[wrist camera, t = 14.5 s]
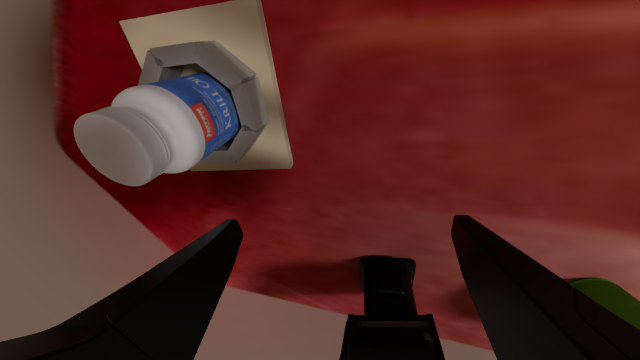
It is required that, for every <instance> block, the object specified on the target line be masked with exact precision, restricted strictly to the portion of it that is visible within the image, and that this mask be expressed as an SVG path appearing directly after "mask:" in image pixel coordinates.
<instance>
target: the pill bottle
mask: <svg viewBox="0 0 640 360" xmlns="http://www.w3.org/2000/svg"><path fill="white" fill-rule="evenodd" d="M241 128H242V125H241V122H240V118H239V115H238V112H237V109H236V105H235V102H234V99H233V95H232V92H231V90H230V89H229V88H228V87H226V86H225V85H224V84H222V83H221V82H220V81H219V80H217V79H216V78H215V77H214V76H212V75H211V74H210V73H208V72H201V73H196V74H192V75H187V76H183V77H177V78H172V79H168V80H163V81H158V82H153V83H148V84H143V85H139V86H135V87H131V88H128V89H125V90H123V91H122V92H120V93H119V94H118V95H117V96H116V97H115V99H114V100H113V102H112V104H111V107H106V108H103V109H101V110H98V111H94V112H91V113H88V114H84V115H82V116H81V117H79V118H78V119H77V120H76V122H75V125H74V137H75V140H76V143H77V145H78V147H79V149H80V151H81V152H82V154H83V155H84V157H85V158H86V159H87V160H88V161H89V162H90V164H91V165H92V166H93V167H95V168H96V169H97V170H98V171H99V172H100V173H102V174H103V175H105V176H106V177H108V178H109V179H111V180H113V181H115V182H118V183H120V184H123V185H127V186H141V185H144V184H146V183H148V182H149V181H151V180H152V179H154V178H156V177H157V176H159V175H161V174H162V173H181V172H184V171H187V170H189V169H190V168H192V167H193V166H195V165H196V164H198V163H199V162H200V161H202V160H203V159H204V158H206V157H207V156H208V155H210V154H211V153H212V152H214V151H215V150H217V149H218V148H219V147H220V146H222V145H223V144H224V143H226V142H227V141H228V140H230V139H231V138H232V137H234V136H235V135H236V134H238V133H239V131H240V129H241Z"/></svg>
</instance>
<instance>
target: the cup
mask: <svg viewBox="0 0 640 360" xmlns="http://www.w3.org/2000/svg"><path fill="white" fill-rule="evenodd" d="M570 285H572V286H573V289H574V288H576V289H578V290H579V291H581V292H582V293H584V294H585V295H587V296H588V297H590V298H591V299H593V300H594V301H596V302H597V303H599V304H600V305H602V306H603V307H605V308H606V309H608V310H609V311H611V312H612V313H614V314H616V315H617V316H619V317H620V318H622V319H623V320H625V321H627V322H628V323H630V324H631V325H633V326H635V327H636V328H638V329H640V301H638V300H637V299H636V298H634V297H633V296H632V295H630V294H629V293H628V292H626V291H625V290H624V289H622V288H621V287H620V286H619V285H617V284H615V283H612V282H611V281H609V280H606V279H601V278H588V279H582V280H578V281H574V282H572V283H570Z"/></svg>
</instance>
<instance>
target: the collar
mask: <svg viewBox="0 0 640 360" xmlns="http://www.w3.org/2000/svg"><path fill="white" fill-rule="evenodd" d="M119 23H120V25H121V27H122V29H123V31H124V33H125V35H126V37H127V39H128V41H129V44H130V46H131V48H132V50H133V52H134V54H135V56H136V58H137V60H138V62H139V64H140V67H141V69H142V73H141V77H140V81H139V85H143V84H148V83H153V82H158V81H163V80H168V79H172V78H177V77H183V76H187V75H192V74H196V73H201V72H208V73H210V74H211V75H212V76H214V77H215V78H216V79H217V80H219V81H220V82H221V83H222V84H224V85H225V86H226V87H228V88H229V89H230V90H231V92H232V95H233V99H234V102H235V105H236V109H237V112H238V115H239V118H240V122H241V125H242V128H241V129H240V131H239V133H238V134H236V135H235V136H234V137H232V138H231V139H230V140H228V141H227V142H226V143H224V144H223V145H222V146H220V147H219V148H218V149H217V150H215V151H214V152H212V153H211V154H210V155H208V156H207V157H206V158H204V159H203V160H202V161H200V162H199V163H198V164H196V165H195V166H193V167H192V168H190V171H216V170H255V169H291V167H292V165H293V159H292V154H291V149H290V144H289V139H288V134H287V129H286V124H285V119H284V114H283V109H282V104H281V99H280V94H279V89H278V84H277V79H276V74H275V69H274V64H273V59H272V54H271V49H270V44H269V38H268V33H267V28H266V23H265V18H264V13H263V8H262V3H261V0H235V1H229V2H224V3H218V4H213V5H207V6H202V7H196V8H191V9H185V10H179V11H174V12H168V13H163V14H157V15H152V16H146V17H140V18H135V19H129V20H124V21H119ZM139 85H138V86H139Z"/></svg>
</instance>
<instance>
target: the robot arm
mask: <svg viewBox="0 0 640 360" xmlns="http://www.w3.org/2000/svg"><path fill="white" fill-rule="evenodd" d="M451 236H452V240H453V244H454V247H455V251H456V254H457V258H458V261H459V265H460V268H461V272H462V275H463V278H464V280H465V283H466V285H467V288H468V290H469V293H470V295H471V297H472V300H473V302H474V305H475V307H476V309H477V312H478V314H479V317H480V319H481V321H482V324H483V326H484V329H485V331H486V334H487V336H488V338H489V341H490V343H491V346H492V348H493V350H494V353H495V355H496V357H497V360H640V329H638V328H636V327H635V326H633V325H631V324H630V323H628V322H627V321H625V320H623V319H622V318H620V317H619V316H617V315H616V314H614V313H612V312H611V311H609V310H608V309H606V308H605V307H603V306H602V305H600V304H599V303H597V302H596V301H594V300H593V299H591V298H590V297H588V296H587V295H585V294H584V293H582V292H581V291H579V290H578V289H576V288H574V289H573V286H572V285H570V284H569V283H567V282H566V281H564V280H563V279H561V278H560V277H559V276H557V275H556V274H554V273H553V272H551V271H550V270H548V269H547V268H545V267H544V266H542V265H541V264H539V263H538V262H536V261H535V260H533V259H532V258H530V257H529V256H528V255H526V254H525V253H523V252H522V251H520V250H519V249H517V248H516V247H514V246H513V245H511V244H510V243H508V242H507V241H505V240H504V239H502V238H501V237H499V236H498V235H497V234H495V233H494V232H492V231H491V230H489V229H488V228H486V227H485V226H483V225H482V224H480V223H479V222H477V221H476V220H474V219H473V218H471V217H470V216H468V215H456V216H454V219H453V225H452V230H451ZM242 238H243V232H242V230H241V227H240V225H239V223H238V221H237V220H235V219H228V220H226V221H224V222H223V223H221V224H220V225H218V226H216V227H215V228H213V229H212V230H210V231H209V232H207V233H206V234H204V235H203V236H201V237H200V238H198V239H196V240H195V241H193V242H192V243H190V244H189V245H187V246H186V247H184V248H183V249H181V250H179V251H178V252H176V253H175V254H173V255H172V256H170V257H169V258H167V259H166V260H164V261H163V262H161V263H159V264H158V265H156V266H155V267H153V268H152V269H150V270H149V272H146V273H144V274H143V275H141V276H139V277H138V278H136V279H135V280H133V281H132V282H130V283H128V284H127V285H125V286H124V287H122V288H121V289H119V290H117V291H116V292H114V293H112V294H110V295H109V296H107V297H106V298H104V299H102V300H100V301H99V302H97V303H95V304H94V305H92V306H90V307H88V308H87V309H85V310H84V311H82V312H80V313H78V314H76V315H75V316H73V317H71V318H70V319H68V320H66V321H65V322H63V323H61V324H59V325H57V326H54V327H52V328H50V329H47V330H45V331H42V332H39V333H36V334H32V335H28V336H24V337H20V338H15V339H11V340H6V341H2V342H0V360H194V357H195V355H196V353H197V350H198V348H199V346H200V343H201V341H202V339H203V336H204V334H205V332H206V329H207V327H208V325H209V323H210V320H211V318H212V316H213V313H214V311H215V309H216V306H217V304H218V302H219V299H220V297H221V295H222V292H223V290H224V288H225V286H226V283H227V281H228V279H229V276H230V274H231V271H232V269H233V266H234V263H235V260H236V257H237V254H238V251H239V248H240V245H241V241H242ZM415 268H416V263H415V261H414V260H409V259H388V258H367V257H363V258H361V259H360V274H361V290H362V291H364V315H353V314H348V320H347V322H346V327H345V332H344V338H343V344H342V350H341V355H340V358H339V360H445V358H444V354H443V350H442V347H441V344H440V340H439V336H438V333H437V329H436V326H435V322H434V319H433V315H432V314H426V315H418V314H417V309H416V304H415V299H414V294H413V289H412V286H413V280H414V274H415Z"/></svg>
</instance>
